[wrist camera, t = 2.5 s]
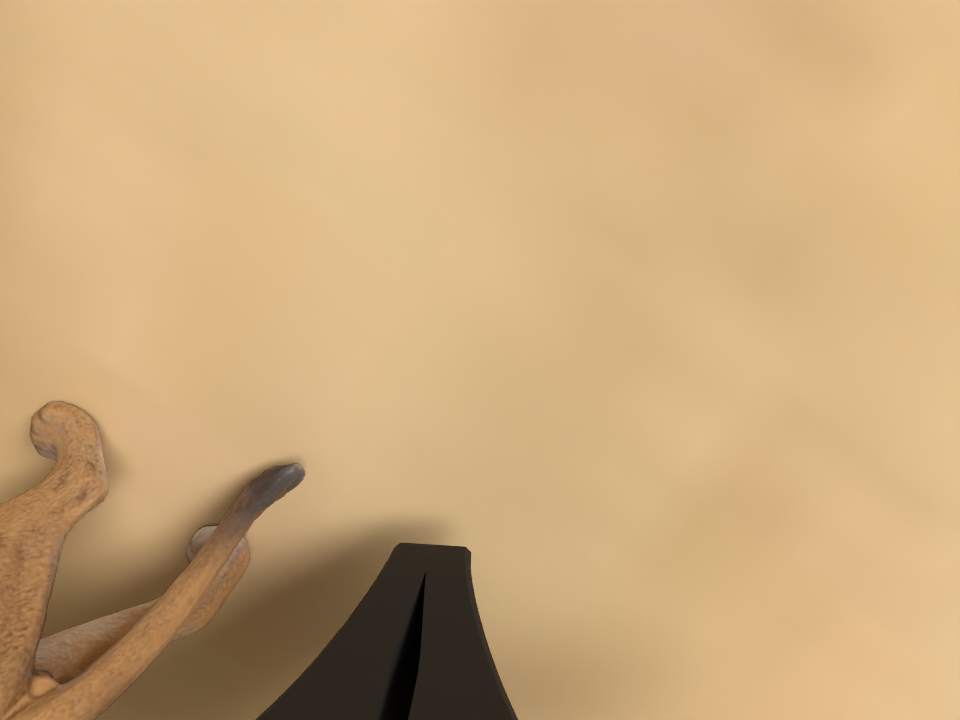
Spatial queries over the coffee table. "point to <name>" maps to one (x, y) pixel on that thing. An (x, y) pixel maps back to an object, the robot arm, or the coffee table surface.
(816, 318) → the coffee table surface
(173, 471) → the coffee table surface
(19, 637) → the lion figurine
